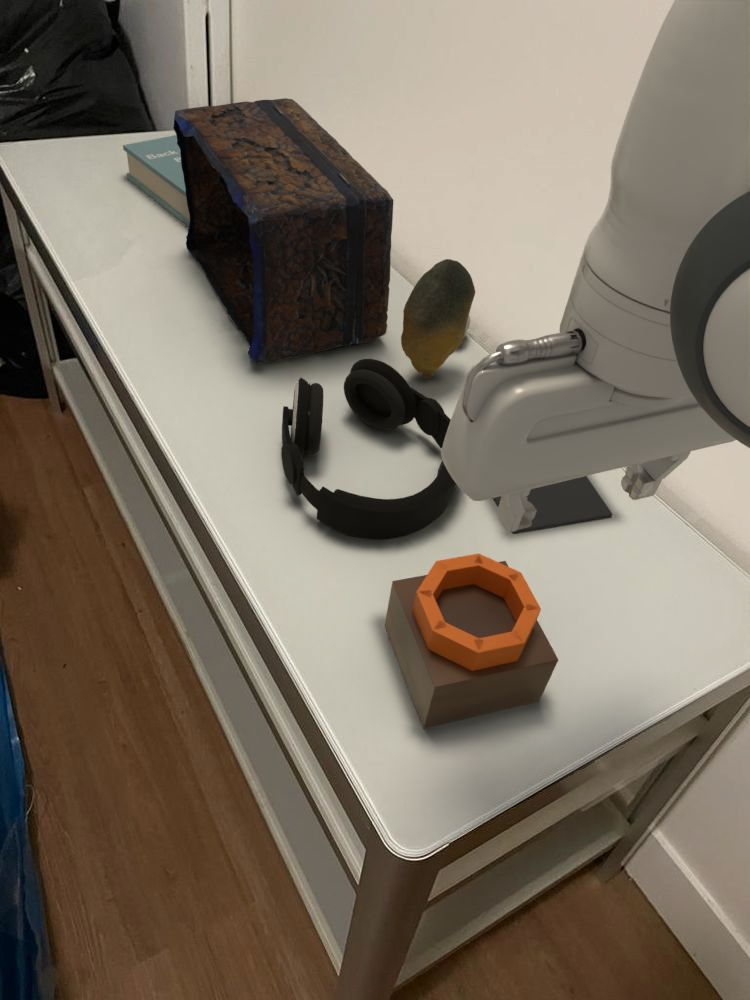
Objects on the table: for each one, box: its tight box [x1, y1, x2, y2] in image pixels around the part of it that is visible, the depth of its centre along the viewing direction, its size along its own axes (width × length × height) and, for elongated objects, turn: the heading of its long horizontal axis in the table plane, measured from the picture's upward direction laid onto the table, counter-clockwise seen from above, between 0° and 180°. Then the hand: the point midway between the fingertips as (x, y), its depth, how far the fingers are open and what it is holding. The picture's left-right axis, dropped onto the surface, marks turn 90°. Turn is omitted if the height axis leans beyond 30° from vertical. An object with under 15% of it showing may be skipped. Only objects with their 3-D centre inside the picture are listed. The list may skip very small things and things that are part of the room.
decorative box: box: [173, 97, 394, 365], centre depth 95 cm, size 31×20×20 cm
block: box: [384, 560, 559, 729], centre depth 63 cm, size 10×10×6 cm
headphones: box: [280, 358, 457, 540], centre depth 78 cm, size 18×8×20 cm
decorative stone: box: [400, 258, 476, 379], centre depth 88 cm, size 10×6×15 cm, turn 130°
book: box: [122, 134, 190, 227], centre depth 119 cm, size 23×16×5 cm
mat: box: [492, 476, 613, 534], centre depth 81 cm, size 11×11×1 cm
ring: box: [412, 553, 542, 671], centre depth 60 cm, size 9×9×2 cm
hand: (576, 506), depth 50 cm, fingers open, 8 cm apart
